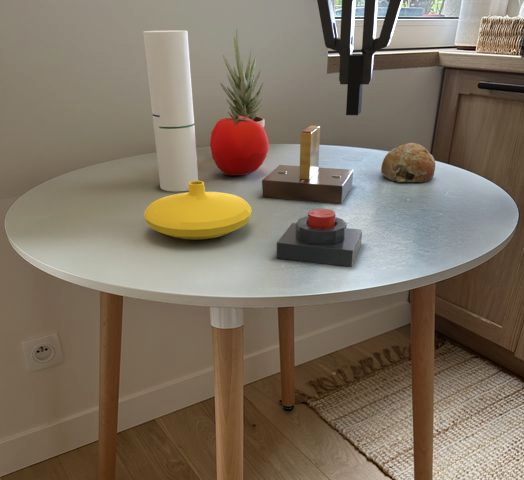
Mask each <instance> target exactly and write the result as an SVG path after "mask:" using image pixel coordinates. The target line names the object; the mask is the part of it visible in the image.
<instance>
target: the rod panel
mask: <svg viewBox="0 0 524 480" xmlns="http://www.w3.org/2000/svg"><path fill="white" fill-rule="evenodd" d="M299 174H300V165H289V164H279V165H278V166H277V167H275V168H274V169H273V170H272V171H271V172H269V173H268V175H266V176H265V177H264V178H263V179H262V182H261V190H262V192H261V193H262V198H270V199H281V200H292V201H305V202H316V203H329V204H339V205H342V203H343V202H344V200H345V199H346V197H347V195H348V194H349V192H350V191H351V189H352V187H353V181H354V169H349V168H348V169H347V168H334V167H333V168H332V167H319V166H318V171H317V172H316V173H315V174H314V175H313V176H312V177H311V179H310V180H305V179H299Z"/></svg>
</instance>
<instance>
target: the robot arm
mask: <svg viewBox="0 0 524 480" xmlns="http://www.w3.org/2000/svg"><path fill="white" fill-rule="evenodd" d="M403 1H404V0H389V2H388V5H387V9H386V13H385V16H384V20H383V23H382V27H381V29H380V33H379V36H378V37H377V38H376V36H377V23H378V22H377V21H378V9H379V8H378V7H379V0H364V9H363V24H362V25H363V26H362V41H361V44H362V45H361V49H360V52H361V53H353V51H354V49H355V46H354V37H355V21H356V19H355V18H356V4H357V1H356V0H341V13H340V14H341V15H340V33H339V35H340V36H339V35H338V30H337V29H338V28H337V24H336V17H335V11H334V6H333V0H316V2H317V8H318V13H319V18H320V19H319V20H320V24H321V28H322V36H323V41H324V45H325V47H326V48H327V49H330V50H333V51H335V52H337V53H338V55H339V71H338V73H339V75H338V76H339V77H338V81H339V84H340V85H347V88H346V89H347V90H346V107H345V108H346V109H345V116H359V115H360V114H361V112H362V104H363V103H362V102H363V89H364V85H370V84H371V82H372V79H373V73H374V59H375V58H374V57H375V54H376V52H377V51H380V50H382V49H385V48H386V47H388V46H390V44H391V42H392V38H393V35H394V31H395V29H396V25H397V22H398V18H399V15H400V11H401V8H402V5H403Z"/></svg>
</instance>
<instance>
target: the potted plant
mask: <svg viewBox="0 0 524 480" xmlns="http://www.w3.org/2000/svg"><path fill="white" fill-rule="evenodd" d="M238 33H239V32H238V28H237V27H236V28H235V35H234V36H233V46H234V55H235V62H236V68H235V67H233V69H232V67H231V65H230V63H229V62H228V60H227V57H226V56H225V55H224V54H222V57H223V60H224V63H225V66H226V68H227V70H228V73H229V74H228V73H226V76H227V79H228V81H229V84H230V86H231V88H232V90H233V91H232V90H231V88H229V87H228V86H227V87H226V86H224V84H223V83H222V82H221V81H220V87H221V88H222V90H223V91H224V93H225V94H226V95H227V97H228V98H229V100H228V99H227V98H226V99H225V101H226V102H227V103H228V105H229V110H230V114H231V115H232V116H234V117H235V115H238V116H242V117H248V118H249V119H251V120H253V121H255V122H258V123H259V124H260V125H261V126H262V127H263V128H264V127H265V126H266V125H265V124H266V123H265V118H264V117H262V116H258V114H257V112H259V110H260V109H261V107H262V106H263V104H261V102H262V101H263V99H262V98H261V99H260V100H259V98H260V96H261V94H262V92H263V90H262V89H263V86H264V82H262V83H261V85H260V87H259V89H258V91H257V92H256V93H255V94H254V92H255V89H256V87H257V85H258V82H259V79H260V76H261V72H262V67H260V68H259V71H258V73H257V75H256V77H255V69H256V65H257V64H256V61H257V57H256V56H254V58H252V56H253V51H252V49H250V52H249V56H248V60H247V65H246V69H244V61H243V59H242V58H241V51H240V49H241V48H240V41H239V34H238ZM252 59H253V62H252ZM236 69H237V71H236ZM253 95H254V96H253ZM232 103H233V104H232ZM260 104H261V105H260ZM259 105H260V106H259ZM258 106H259V107H258ZM229 118H232V117H231V116H230V117H229Z"/></svg>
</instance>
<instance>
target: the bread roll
mask: <svg viewBox="0 0 524 480" xmlns="http://www.w3.org/2000/svg"><path fill="white" fill-rule="evenodd" d="M380 171H381V174H382V175H383V177H385V178H386V179H388V181H392V182H396V183H398V184H399V183H428V182H429V181H431V180H432V179H433V178H434V176H435V171H436V160H435V158H434V156H433V155H432V154H431V153H430V152H429V151H428V149H427V148H426V147H425V146H423V145H421V144H419V143H415V142H408V143H404V144H402V145H399V146H398V147H395V148H392V149H391V150H389V151H388V152H387V153H386V155H385V156H384V158H383V159H382V163H381V168H380Z"/></svg>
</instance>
